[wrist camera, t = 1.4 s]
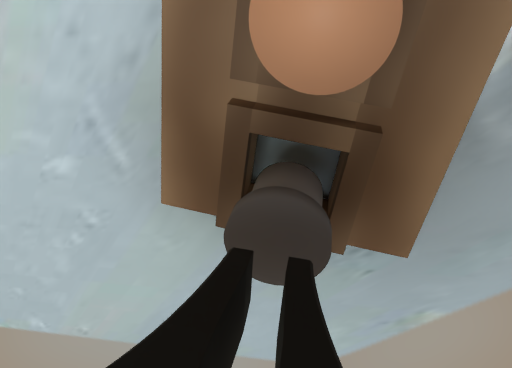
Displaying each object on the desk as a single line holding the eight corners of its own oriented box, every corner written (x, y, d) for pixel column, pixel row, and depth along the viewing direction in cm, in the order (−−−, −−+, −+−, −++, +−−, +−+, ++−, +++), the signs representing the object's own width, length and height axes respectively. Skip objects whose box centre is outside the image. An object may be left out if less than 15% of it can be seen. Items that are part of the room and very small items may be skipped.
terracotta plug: (404, -52, 11) (426, -57, 8) (368, 73, 13) (376, 106, 10) (279, -71, 11) (259, -81, 8) (262, 54, 13) (240, 81, 10)
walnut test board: (739, -578, 8) (902, -797, 6) (389, 261, 21) (395, 300, 18) (196, -590, 9) (147, -779, 7) (175, 213, 22) (154, 244, 19)
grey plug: (342, 163, 15) (343, 212, 12) (322, 236, 16) (318, 295, 14) (250, 144, 15) (229, 188, 12) (240, 218, 17) (219, 271, 14)
